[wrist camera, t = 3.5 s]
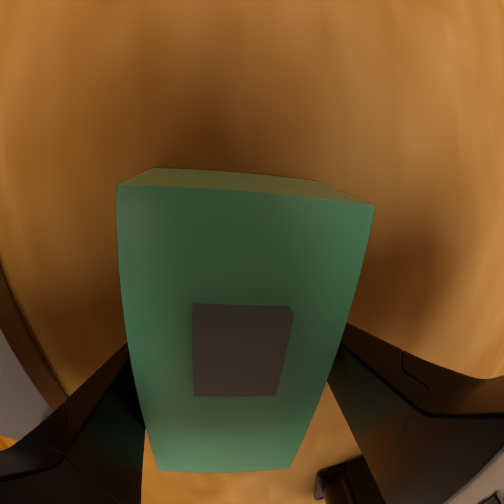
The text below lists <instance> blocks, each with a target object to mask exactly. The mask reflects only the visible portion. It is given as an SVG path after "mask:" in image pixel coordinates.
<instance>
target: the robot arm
mask: <svg viewBox="0 0 504 504" xmlns="http://www.w3.org/2000/svg"><path fill="white" fill-rule="evenodd" d="M327 382H328V384H329V386H330V388H331V390H332V393H333V395H334V397H335V399H336V401H337V403H338V405H339V407H340V409H341V411H342V413H343V415H344V417H345V419H346V421H347V423H348V425H349V427H350V429H351V431H352V433H353V435H354V437H355V440H356V442H357V444H358V446H359V448H360V450H361V452H362V454H363V456H364V458H362V459H359V460H357V461H354V462H351V463H348V464H345V465H342V466H338V467H335V468H332V469H328V470H325V471H322V472H320V473H318V474H317V479H316V486H315V493H314V498H315V500H321V499H325V502H326V504H504V376H500V377H496V378H492V379H478V378H473V377H470V376H467V375H464V374H461V373H458V372H455V371H452V370H450V369H447V368H444V367H441V366H438V365H436V364H433V363H431V362H428V361H425V360H423V359H421V358H419V357H417V356H414V355H412V354H410V353H408V352H406V351H402V349H400V348H397V347H395V346H393V345H391V344H389V343H387V342H385V341H383V340H381V339H379V338H377V337H375V336H373V335H371V334H369V333H367V332H365V331H363V330H361V329H359V328H357V327H355V326H353V325H351V324H349V323H347V322H346V326H345V329H344V332H343V335H342V338H341V341H340V344H339V347H338V350H337V353H336V356H335V359H334V362H333V365H332V368H331V370H330V373H329V376H328V379H327ZM145 429H146V427H145V423H144V419H143V415H142V411H141V407H140V403H139V399H138V394H137V390H136V385H135V380H134V375H133V370H132V365H131V359H130V354H129V348H128V343H126V344H125V345H124V346H123V347H122V348H120V349H119V350H118V351H117V352H116V353H115V354H114V355H113V356H112V357H111V358H110V359H109V360H108V361H107V362H106V363H104V364H103V365H102V366H101V367H100V368H99V369H98V370H97V371H96V372H95V373H94V374H93V375H92V376H91V377H90V378H89V379H87V380H86V381H85V382H84V383H83V384H82V385H81V386H80V387H79V388H78V389H77V390H76V391H75V392H74V393H73V394H72V395H71V396H70V397H68V398H67V399H66V400H65V402H64V403H62V404H61V405H60V406H59V407H58V408H57V409H56V410H55V411H54V412H53V413H52V414H50V415H49V416H48V417H47V418H46V419H45V420H44V421H43V422H41V423H40V424H39V425H38V426H37V427H35V428H34V429H33V430H32V431H30V432H29V433H28V434H27V435H25V436H24V437H23V438H22V439H20V440H19V441H18V442H17V443H15V444H14V445H13V446H11V447H10V448H8V449H5V450H2V451H0V504H141V485H142V467H143V452H144V440H145Z"/></svg>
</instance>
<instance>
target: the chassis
mask: <svg viewBox="0 0 504 504" xmlns="http://www.w3.org/2000/svg"><path fill="white" fill-rule="evenodd" d="M67 398H68V396H67V395H66V394H65V392H64V391H63V389H62V388H61V386H60V385H59V383H58V382H57V380H56V378H55V377H54V375H53V374H52V372H51V371H50V369H49V367H48V366H47V364H46V362H45V361H44V359H43V357H42V355H41V354H40V352H39V350H38V348H37V347H36V345H35V343H34V341H33V339H32V337H31V335H30V333H29V331H28V330H27V328H26V326H25V324H24V321H23V319H22V317H21V315H20V313H19V311H18V309H17V307H16V304H15V302H14V300H13V297H12V295H11V293H10V290H9V288H8V285H7V283H6V280H5V278H4V275H3V272H2V270H1V267H0V435H1V436H4V437H8V438H11V439H15V440H20V439H22V438H23V437H24V436H25V435H27V434H28V433H29V432H30V431H32V430H33V429H34V428H35V427H37V426H38V425H39V424H40V423H41V422H43V421H44V420H45V419H46V418H47V417H48V416H49V415H50V414H52V413H53V412H54V411H55V410H56V409H57V408H58V407H59V406H60V405H61V404H62V403H64V402H65V400H66V399H67Z"/></svg>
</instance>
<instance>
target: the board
mask: <svg viewBox="0 0 504 504" xmlns="http://www.w3.org/2000/svg"><path fill="white" fill-rule="evenodd" d="M374 210H375V206H374V205H372V204H370V203H368V202H366V201H363V200H361V199H359V198H357V197H354V196H352V195H350V194H347V193H345V192H343V191H340V190H338V189H336V188H333V187H331V186H328V185H326V184H324V183H321V182H319V181H313V180H305V179H297V178H289V177H280V176H270V175H261V174H250V173H239V172H226V171H212V170H195V169H174V168H151V169H149V170H147V171H145V172H142V173H140V174H138V175H136V176H134V177H132V178H130V179H128V180H126V181H123V182H121V183H119V184H117V185H116V218H117V246H118V263H119V276H120V287H121V297H122V306H123V314H124V321H125V329H126V335H127V342H128V348H129V354H130V359H131V365H132V370H133V375H134V380H135V385H136V390H137V394H138V399H139V403H140V407H141V411H142V415H143V419H144V423H145V427H146V430H147V434H148V438H149V441H150V444H151V448H152V451H153V454H154V458H155V461H156V464H157V467H158V470H163V471H175V472H196V473H232V472H253V471H266V470H276V469H285V468H289V467H290V465H291V463H292V461H293V459H294V457H295V455H296V453H297V451H298V449H299V446H300V444H301V442H302V440H303V438H304V435H305V433H306V431H307V428H308V426H309V424H310V421H311V419H312V417H313V414H314V412H315V409H316V407H317V404H318V402H319V399H320V397H321V394H322V392H323V389H324V387H325V384H326V381H327V379H328V376H329V373H330V370H331V368H332V365H333V362H334V359H335V356H336V353H337V350H338V347H339V344H340V341H341V338H342V335H343V332H344V329H345V326H346V322H347V319H348V316H349V312H350V309H351V306H352V302H353V299H354V295H355V291H356V288H357V284H358V280H359V276H360V273H361V269H362V265H363V261H364V256H365V252H366V248H367V244H368V239H369V235H370V230H371V225H372V220H373V216H374Z"/></svg>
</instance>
